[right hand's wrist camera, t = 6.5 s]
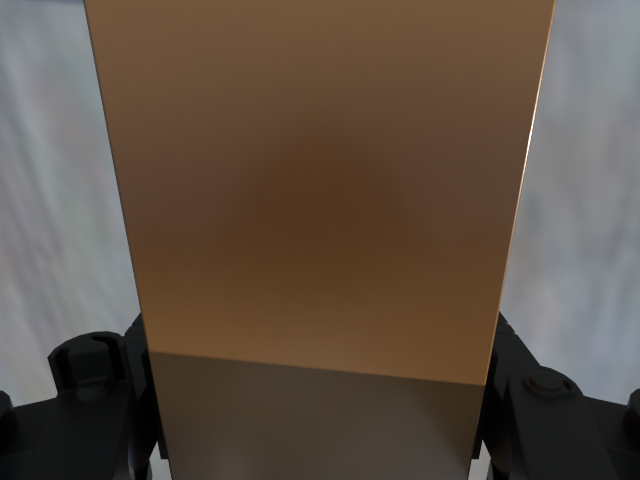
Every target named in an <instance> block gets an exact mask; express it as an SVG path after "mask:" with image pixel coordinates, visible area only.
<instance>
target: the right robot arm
mask: <svg viewBox="0 0 640 480" xmlns="http://www.w3.org/2000/svg"><path fill="white" fill-rule="evenodd" d="M47 358H48V361H49V365H50V368H51V371H52V375H53V378H54V382H55V385H56V388H57V392H58V394H57V396H56V398H52V399H49V400H45V401H40V402H36V403H31V404H27V405H22V406H17V407H13V405H12V402H11V399H10V396H9V395H7V394H6V393H5V392H4V391H0V480H152V470H151V464H150V459H149V458H150V456H151V454H152V451H153V449H154V447H155V445H156V442H157V441H158V446H159V451H160V456H161V459H168V456H167V451H166V445H165V440H164V434H163V429H162V424H161V418H160V413H159V407H158V402H157V396H156V391H155V386H154V380H153V375H152V369H151V364H150V359H149V353H148V348H147V342H146V337H145V332H144V326H143V321H142V315H141V313H140V314H139V315H138V317H137V318H136V319H135V321H134V322H133V323H132V326H130V327H129V329H128V330H127V331H126V333H125V336H123V337H122V336H121V335H119V334H118V333H113V332H109V331H102V332H92V333H87V334H83V335H79V336H77V337H75V338H72V339H70V340H68V341H66V342H64V343H63V344H61V345H60V346H58V347H57V348H55V349H54V350H53V351H52V353H51V354H50V355H49V356H48V357H47ZM482 439H483V441H484V443H485V445H486V448H487V450H488V452H489V454H490V457H491V459H490V464H489V469H488V474H487V479H486V480H640V389H637V390H635V391H634V392H633V393H632V394H631V395H630V398H629V401H628V404H627V406H626V405H622V404H617V403H613V402H608V401H603V400H599V399H594V398H590V397H587V396H583V393H582V392H581V390H580V389H579V387H578V386H577V385H576V383H575V382H573V381H572V380H571V379H569V378H568V377H567V376H565V375H564V374H562V373H560V372H558V371H555V370H553V369H551V368H547V367H544V366H540V364H539V363H538V362H537V360H536V359H535V358H534V356H533V355H532V354H531V352H530V351H529V350H528V348H527V347H526V346H525V344H524V343H523V342H522V340H521V339H520V338H519V337H518V335H515V331H514V330H513V329H512V327H511V326H510V325H508V322H507V321H506V319H505V318H504V317H503V315H502V314H501V313H500V311H499V314H498V319H497V325H496V330H495V335H494V341H493V346H492V352H491V357H490V362H489V368H488V373H487V379H486V384H485V390H484V395H483V400H482V406H481V411H480V417H479V422H478V427H477V433H476V438H475V444H474V449H473V454H472V459H479V455H480V450H481V445H482Z"/></svg>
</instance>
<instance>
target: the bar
mask: <svg viewBox="0 0 640 480" xmlns="http://www.w3.org/2000/svg"><path fill="white" fill-rule="evenodd" d="M83 2H84V7H85V13H86V18H87V23H88V29H89V34H90V40H91V45H92V51H93V56H94V61H95V67H96V72H97V78H98V83H99V88H100V94H101V99H102V105H103V110H104V115H105V121H106V126H107V132H108V137H109V142H110V148H111V153H112V159H113V164H114V169H115V175H116V180H117V186H118V191H119V196H120V202H121V207H122V213H123V218H124V223H125V229H126V234H127V240H128V245H129V251H130V256H131V261H132V267H133V272H134V278H135V283H136V288H137V294H138V299H139V305H140V310H141V315H142V321H143V326H144V332H145V337H146V342H147V348H148V353H149V359H150V364H151V369H152V375H153V380H154V386H155V391H156V396H157V402H158V407H159V413H160V418H161V424H162V429H163V434H164V440H165V445H166V451H167V456H168V461H169V467H170V472H171V478H172V480H468V476H469V471H470V465H471V460H472V454H473V449H474V444H475V438H476V433H477V427H478V422H479V417H480V411H481V406H482V400H483V395H484V390H485V384H486V379H487V373H488V368H489V362H490V357H491V352H492V346H493V341H494V335H495V330H496V325H497V319H498V314H499V308H500V303H501V298H502V292H503V287H504V281H505V276H506V271H507V265H508V260H509V254H510V249H511V243H512V238H513V233H514V227H515V222H516V216H517V211H518V206H519V200H520V195H521V189H522V184H523V179H524V173H525V168H526V162H527V157H528V152H529V146H530V141H531V135H532V130H533V124H534V119H535V114H536V108H537V103H538V97H539V92H540V87H541V81H542V76H543V70H544V65H545V60H546V54H547V49H548V43H549V38H550V33H551V27H552V22H553V16H554V11H555V5H556V0H83Z"/></svg>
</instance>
